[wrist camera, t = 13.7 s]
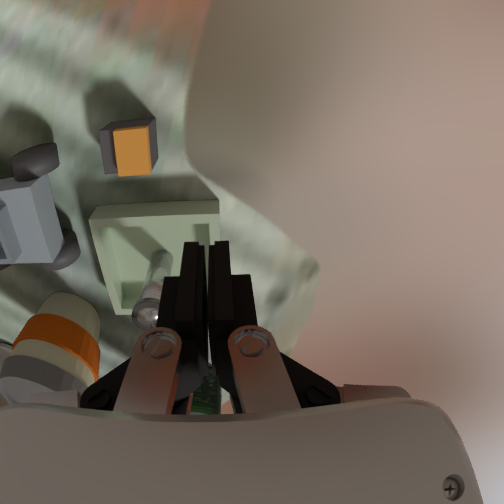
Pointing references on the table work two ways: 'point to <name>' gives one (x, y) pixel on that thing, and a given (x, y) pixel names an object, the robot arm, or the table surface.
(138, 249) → the tray
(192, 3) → the table surface
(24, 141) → the table surface
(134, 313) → the pin
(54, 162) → the toy car
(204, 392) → the coffee jar
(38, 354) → the reusable coffee cup
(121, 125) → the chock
